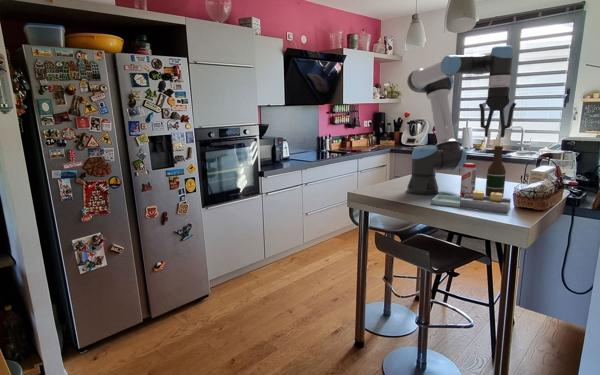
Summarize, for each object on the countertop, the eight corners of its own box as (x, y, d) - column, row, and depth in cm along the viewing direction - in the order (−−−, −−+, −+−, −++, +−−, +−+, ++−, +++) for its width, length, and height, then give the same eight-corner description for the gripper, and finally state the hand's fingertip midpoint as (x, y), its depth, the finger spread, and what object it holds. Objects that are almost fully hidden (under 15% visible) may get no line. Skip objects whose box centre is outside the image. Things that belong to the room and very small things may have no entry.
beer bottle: (481, 194, 176) (485, 145, 170) (496, 194, 176) (501, 144, 171) (491, 198, 168) (495, 147, 163) (507, 198, 169) (512, 146, 163)
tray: (430, 204, 162) (431, 199, 162) (437, 198, 171) (437, 194, 171) (459, 207, 155) (459, 203, 155) (464, 201, 165) (465, 197, 164)
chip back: (472, 201, 155) (473, 192, 154) (471, 199, 159) (472, 190, 158) (483, 202, 154) (484, 193, 153) (482, 199, 157) (482, 190, 156)
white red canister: (468, 198, 170) (470, 164, 166) (457, 195, 175) (459, 163, 172) (477, 196, 173) (479, 163, 169) (465, 193, 178) (468, 161, 175)
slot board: (459, 207, 156) (460, 199, 155) (464, 201, 164) (465, 193, 164) (507, 213, 146) (508, 204, 145) (510, 206, 154) (510, 198, 154)
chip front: (489, 203, 152) (490, 194, 151) (491, 201, 155) (491, 192, 154) (500, 204, 149) (501, 195, 149) (501, 202, 153) (502, 193, 152)
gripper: (474, 87, 147) (470, 145, 152) (522, 85, 137) (515, 146, 143) (478, 88, 153) (473, 143, 158) (523, 85, 143) (517, 144, 149)
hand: (493, 145), depth 150 cm, fingers open, 3 cm apart
